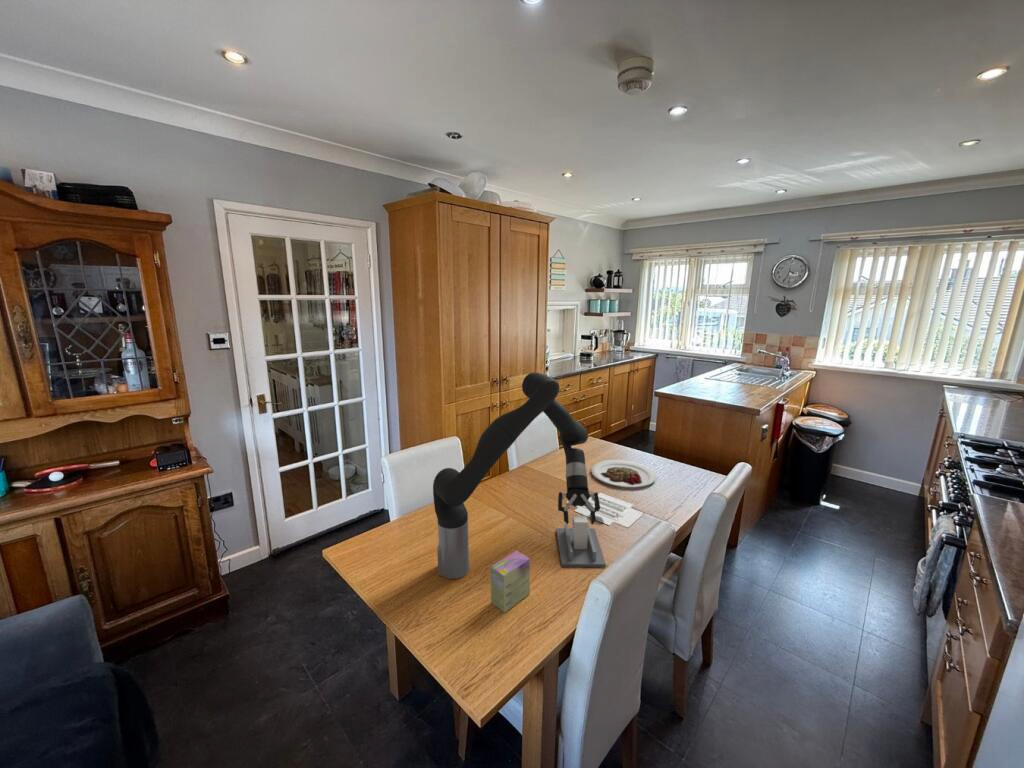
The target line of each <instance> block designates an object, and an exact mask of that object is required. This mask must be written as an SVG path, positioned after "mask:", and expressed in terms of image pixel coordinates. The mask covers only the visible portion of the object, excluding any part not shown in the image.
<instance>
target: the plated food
mask: <svg viewBox="0 0 1024 768" xmlns="http://www.w3.org/2000/svg"><path fill="white" fill-rule="evenodd" d="M590 470H591V474H592V475H593V477H594V478H595V479H597V480H599V481H600V482H603V483H605V484H608V485H610V486H614V487H621V488H633V489H635V488H643V487H646V486H649V485H652V484H653V483H655V482H656V480H657V474H656V472H655V471H654V470H653V469H652V468H651V467H650V466H649V467H648V466H647V465H645V464H642V463H639V462H636V461H632V460H626V459H606V460H602V461H599V462H596V463H595V464H593V465H592V467H591V469H590Z"/></svg>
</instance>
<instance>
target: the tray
mask: <svg viewBox="0 0 1024 768" xmlns="http://www.w3.org/2000/svg"><path fill="white" fill-rule="evenodd" d="M589 493H590V492H589ZM590 494H592V493H590ZM598 498H599V504H600V510H599V511H598V512H595V519H596V520H595V521H598V522H600V523H602V524H605V525H608V526H611V525H612V524H617V525H618V526H622V527H624V528H627V529H629V528H630V526H632V525H633V524H634V523H636V521H637V520H638V519H640V517H641V516H643V515H644V512H641V511H639V510H636V509H633V506H634V504H633V503H629V502H627V501H624V500H621V499H618V498H617V497H613V496H611V495H608V494H605V493H602V492H599V493H598ZM588 501H589V502H590V503H591V505H592V506H593V507H594V508H595V503H594V500H592V498H591V497H590V498H589V499H588ZM568 502H569V500H567V501H566V502H565V503H566V504H567V503H568ZM587 503H588V502H587ZM571 506H573V505H571ZM573 507H575V508H576V509H575V510H573V511H574V512H576V513H579V514H580V515H586V517H587V518H590V513H591V512H590V511H589V510H588V509H587V508H586V507H585V505H584V506H573Z"/></svg>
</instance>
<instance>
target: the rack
mask: <svg viewBox="0 0 1024 768" xmlns="http://www.w3.org/2000/svg"><path fill="white" fill-rule="evenodd" d="M568 525H569V524H566V523H564V528H562V527H559V528H558V527H557V528H555V530H556V537H557V544H558V545H557V546H558V550H559V557H560V564H561V565H560V566H561V567H562V568H563V567H564V568H565V567H567V568H576V567H577V568H606V566H607V565H606V564H607V563H606V561H605V557H604V555H603V551H602V549H601V545H600V542H599V538H598V535H597V532H596V530H595V528H590V525H589V524H588V539H587V549H574V548H573V544H572V528H569V526H568Z"/></svg>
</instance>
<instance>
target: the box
mask: <svg viewBox="0 0 1024 768" xmlns="http://www.w3.org/2000/svg"><path fill="white" fill-rule="evenodd" d="M530 559H531V558H530V557H528V556H526V555H525V554H523V553H521V552H520V551H518V550H515V551H513V552H511V553H509V554H508V555H507V556H505V557H504V558H502V559H500V560H498V561H497V562H495V563H494V564H492V565H490V595H491V596H490V603H491V604H492V605H493V606H495V607H496V608H498V609H499V610H500V611H501V612H503V613H506V612H507V611H509V610H510V609H512V608H513V607H515V605H517V604H518V603H519V602H521V601H522V600H524V599H525V598H526V597H528V596H530V593H531V592H530V591H531V590H530V589H531V587H530V586H531V581H530V580H531V578H530V577H531V575H530V571H531V564H530V563H531V561H530Z"/></svg>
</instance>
